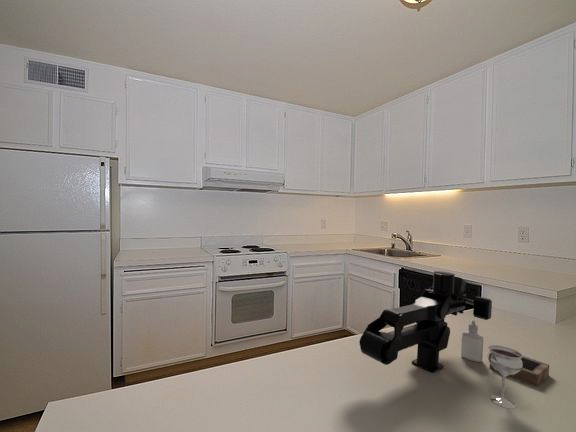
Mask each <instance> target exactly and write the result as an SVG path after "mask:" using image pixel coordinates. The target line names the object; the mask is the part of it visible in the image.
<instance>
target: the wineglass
mask: <svg viewBox="0 0 576 432" xmlns="http://www.w3.org/2000/svg"><path fill="white" fill-rule="evenodd" d="M488 350H489V351H488V353H487V360H488V362H489V365H490V364H491V365H492V366H493V368H494V369H495V371H496V370H497V371H496V372H499V374H500V375H501V396H500V395H498V394H497V395H494V394H493V395H490V396H489V398H490V400H491V402H493V403H494V404H495V405H498V406H500V407H502V408H506V409H514V408H516V406H517V405H516V404H515V403H514V402H513V401H512V400H511V399H508V398H507V397H505V389H506V388H505V387H506V379H507V376H509V375H514V374H516V373H518V372H520V371H521V369H522V366H523V363H522V360H521V358H522V357H523V356H524V355H523V354H522V353H521V352H519V351H517V350H515V349H512V348H510V347H507V346H502V345H494V344H492V345H489V346H488ZM494 369H493V370H494Z"/></svg>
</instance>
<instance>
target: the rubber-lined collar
mask: <svg viewBox="0 0 576 432" xmlns="http://www.w3.org/2000/svg"><path fill="white" fill-rule="evenodd" d="M521 360H522V363H523V366H522V369H521V371H520V372H518V373H516V374H514V375H508V376H510V377H512V378H514V379H517V380H520V381H522V382H525V383H527V384H530V385H532V386H535V387H538V386H539V385H540V384H541V383H542V382H543V381H544V380H546V379H547V377H549V375H550V364H549V363H545V362H541V361H539V360H536V359H533V358H530V357H527V356H524V355H523V357H522V358H521ZM489 369H492V370H495V369H494V368H493V366H492V365H491V364H490V363H489ZM495 371H496V372H498V371H497V370H495Z"/></svg>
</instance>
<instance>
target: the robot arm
mask: <svg viewBox="0 0 576 432" xmlns="http://www.w3.org/2000/svg"><path fill="white" fill-rule="evenodd" d="M432 278H433V280H432V281H433V282H432V286H430V287H429V288H428V289H427V288H425V289H424V290H423V292H421V293H420V296H419V297H418V298H416V299H415V301H414V303H412V304H409V305H404V306H399V307H395V308H391V309H390V308H387V309H383V311H382V312H381V314H380V315H379V317H378V318H376V319H375V320H373V321H372V322H370V323H369V324H367V327H365V329H364V331H363V333H362V334H361V337H360V339H359V341H358V342H359V343H358V344H359V346H360V351H361V353H362V355H364V356H367V357H369V358H371V359H373V360H375V361H377V362H379V363H381V364H383V365H384V366H389V365H390V364H391V363H392V362H394V361H396V360H397V359H398V356H399V355H398V354H399V352H400V351H403V350H407V349H408V348H411V347H414V346H417V354H416V358H415V359H413V360H411V363H412V364H414V365H415V366H417V367H420V368H422V369H424V370H426V371H428V372H430V373H436V372H437V371H438V370H441V369H443V368H444V366H445V365H444V364H442V363H439V362H440V352H441V351H443V350H446V349H448V344H449V340H450V335H451V327H449V326H448V322H446V321H445V319H446V316H448V315H453V316H458V314H461V315H462V314H464V310H465V308H466V307H467V308H471V309H473V312H472V315H473V316H474V318H477V319H480V320H484V321H489V320H490V319H491V318H492V308H493V307H492V305H493V300H492V299H490V298H487V297H483V296H478V295H477V296H475V297H474V299H470V298H469V299H468V298H467V295H466V294H465V289H466V285H467V281H466V280H465V279H463V278H462V277H460V276H459V277H458V276H455V273H452V272H447V271H442V270H441V271H440V270H439V271H438V270H434V271H433V275H432ZM387 326H389V327H392V328H393V330H392V331H389V332H384V331H381V330H383V329H384V328H386V327H387Z"/></svg>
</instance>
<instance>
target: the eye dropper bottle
mask: <svg viewBox="0 0 576 432" xmlns="http://www.w3.org/2000/svg"><path fill="white" fill-rule="evenodd" d="M478 330H479V325H477V324H476V321H475V320H473V319H472V320H471V322H470V323H469V324H468V330H464V331H462V336H461V345H460V346H461V349H460V350H461V351H460V356H461V357H462V358H463V359H465V360H469V361H472V362H474V363H482V362H483V358H484V357H483V356H484V354H483V353H484V336H483V335H482V334H480V333H479V331H478Z"/></svg>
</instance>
